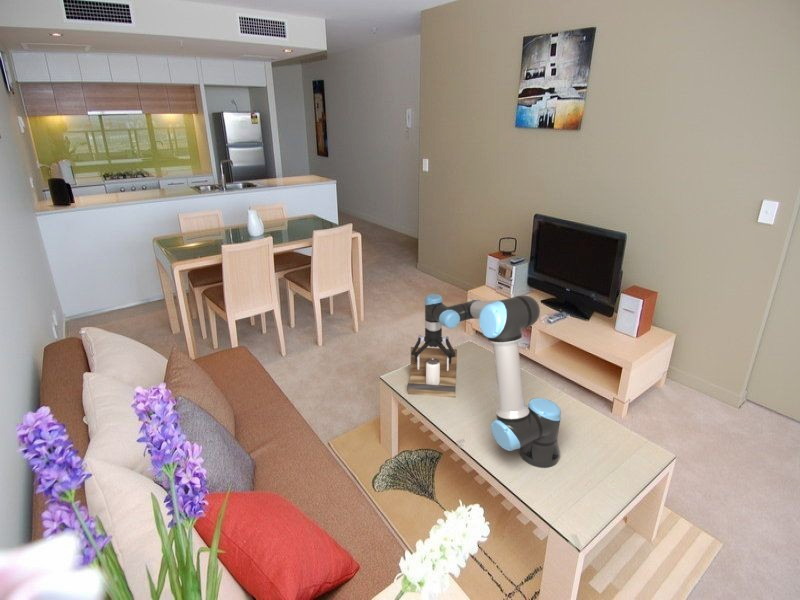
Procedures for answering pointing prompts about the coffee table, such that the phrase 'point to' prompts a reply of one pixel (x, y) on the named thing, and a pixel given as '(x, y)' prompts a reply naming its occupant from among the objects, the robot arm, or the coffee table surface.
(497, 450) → the coffee table surface
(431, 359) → the can
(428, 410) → the coffee table surface
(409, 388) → the brown piece
